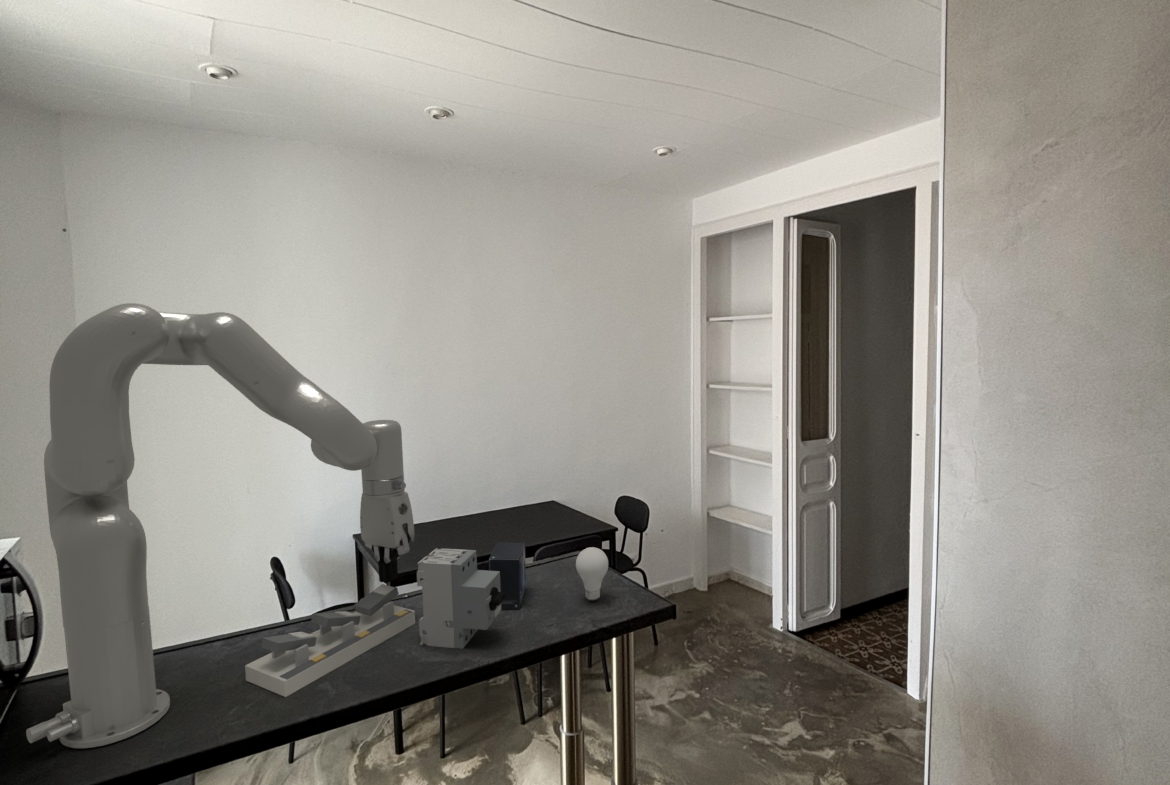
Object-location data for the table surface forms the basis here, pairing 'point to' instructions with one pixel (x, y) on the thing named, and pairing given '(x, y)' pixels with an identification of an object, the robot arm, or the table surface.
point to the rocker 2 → (335, 619)
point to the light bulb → (592, 570)
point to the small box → (510, 572)
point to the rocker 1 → (288, 641)
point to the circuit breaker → (456, 597)
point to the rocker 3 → (376, 600)
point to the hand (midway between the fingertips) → (388, 579)
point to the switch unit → (327, 650)
